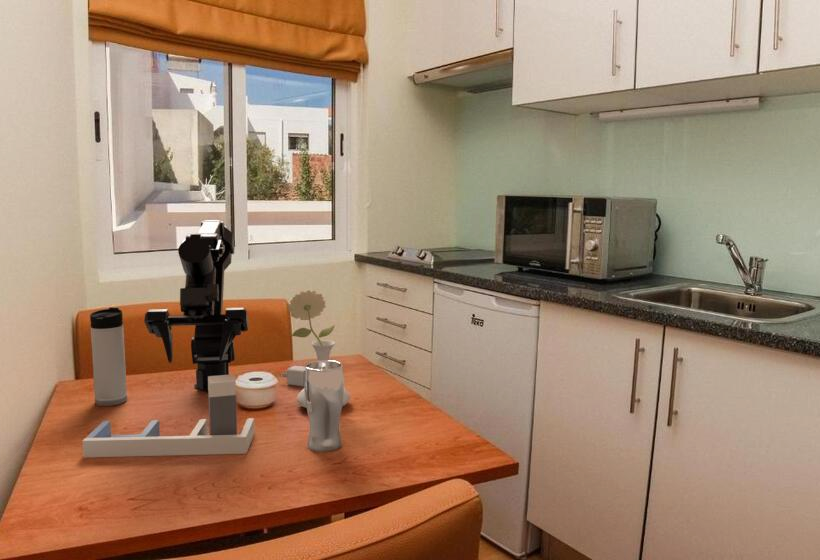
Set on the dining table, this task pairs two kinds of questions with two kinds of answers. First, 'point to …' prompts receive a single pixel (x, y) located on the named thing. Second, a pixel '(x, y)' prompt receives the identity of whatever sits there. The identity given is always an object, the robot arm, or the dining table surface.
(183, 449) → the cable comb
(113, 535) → the dining table surface
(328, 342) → the flower in vase
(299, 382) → the usb wall charger
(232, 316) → the robot arm
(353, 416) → the dining table surface
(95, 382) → the travel mug
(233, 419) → the grey tall block
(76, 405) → the dining table surface
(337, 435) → the beer glass
